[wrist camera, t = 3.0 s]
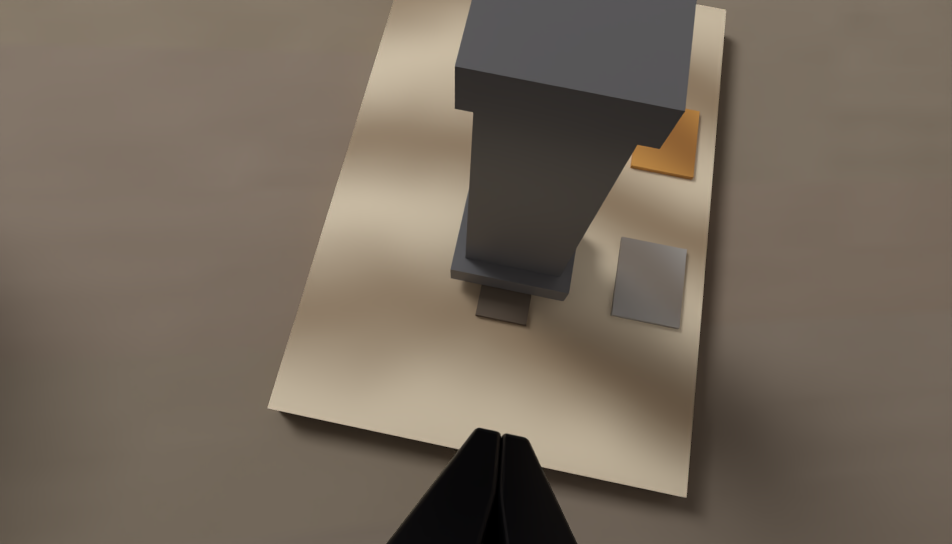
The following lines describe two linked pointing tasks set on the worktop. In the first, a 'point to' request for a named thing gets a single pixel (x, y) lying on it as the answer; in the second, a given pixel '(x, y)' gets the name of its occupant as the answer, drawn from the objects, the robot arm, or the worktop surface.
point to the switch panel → (499, 310)
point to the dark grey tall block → (558, 124)
